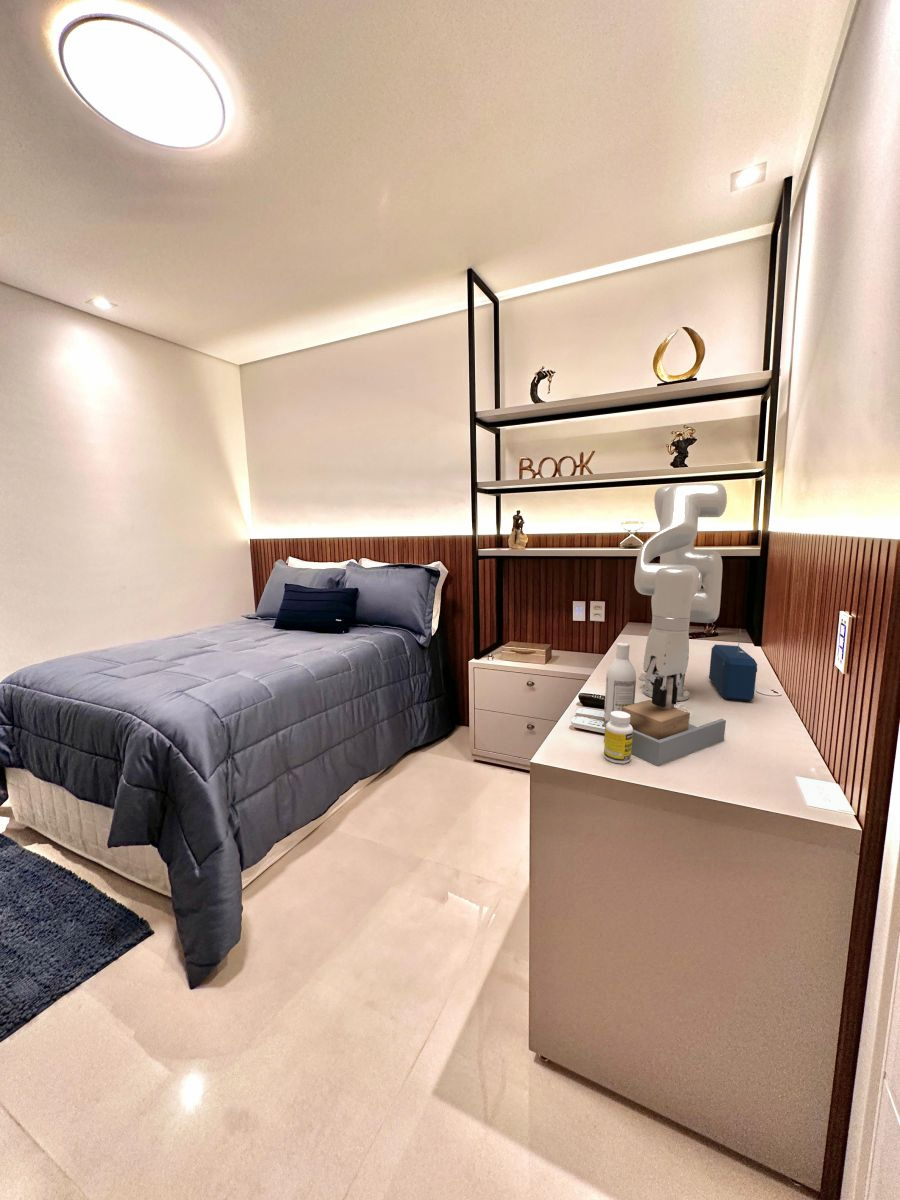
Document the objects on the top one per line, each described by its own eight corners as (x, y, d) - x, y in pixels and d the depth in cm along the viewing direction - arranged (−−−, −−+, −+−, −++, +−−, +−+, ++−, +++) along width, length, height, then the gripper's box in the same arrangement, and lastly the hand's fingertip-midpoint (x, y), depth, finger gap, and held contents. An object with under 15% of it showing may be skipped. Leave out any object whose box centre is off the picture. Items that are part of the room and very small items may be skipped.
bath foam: (639, 724, 124) (644, 645, 121) (618, 729, 121) (623, 648, 118) (618, 715, 131) (623, 639, 128) (597, 719, 128) (602, 642, 125)
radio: (757, 704, 140) (765, 634, 137) (723, 701, 142) (729, 631, 139) (737, 682, 160) (743, 620, 157) (707, 679, 162) (712, 618, 159)
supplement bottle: (627, 766, 102) (630, 721, 101) (600, 760, 105) (603, 715, 104) (633, 756, 107) (636, 712, 106) (607, 750, 110) (610, 707, 108)
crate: (619, 736, 114) (623, 676, 112) (647, 727, 120) (652, 670, 117) (658, 753, 106) (663, 689, 104) (687, 743, 111) (692, 682, 109)
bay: (604, 740, 115) (605, 720, 114) (669, 720, 127) (670, 701, 127) (658, 766, 103) (659, 743, 102) (723, 740, 116) (725, 720, 115)
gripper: (677, 617, 118) (671, 693, 121) (631, 624, 109) (626, 705, 112) (708, 623, 112) (701, 702, 114) (661, 630, 103) (655, 716, 106)
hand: (664, 703), depth 113 cm, fingers closed on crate, 3 cm apart
